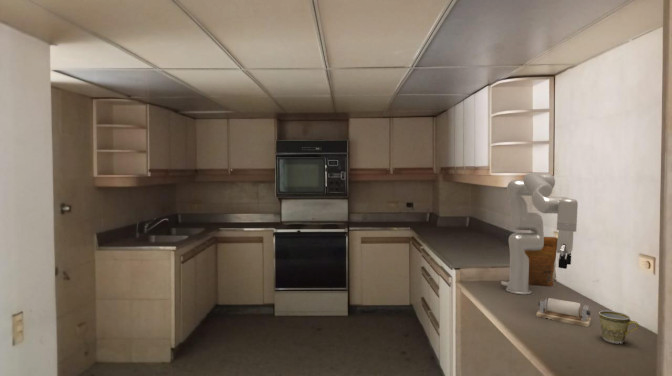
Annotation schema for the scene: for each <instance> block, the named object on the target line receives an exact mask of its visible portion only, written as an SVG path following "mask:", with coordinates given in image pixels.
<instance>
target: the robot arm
mask: <svg viewBox="0 0 672 376" xmlns="http://www.w3.org/2000/svg"><path fill="white" fill-rule="evenodd" d="M555 185H556V179H555V177H554V175H553V174H551V173H550V172H529V173H526V174H525V175H524V176H523V179H513V180H510V181H509V182H508V184H507V187H506V195H507V198H508V200H509V208H510V210H509V213H510V225H511V228H512V229H513V230H515V231H530V232H513V233H511V234H510V235H509V237H508V246H509V248H508V249H509V280H508V281H506V280H505V281H504V280H501V282H500V283H501V286H504V287H505V286H506V287H505V291H507V292H508V293H511V294H516V295H530V294H532V290H531V289H530V288H529V285H528V283H529V258H528V256H527V255H526V253H525V251H539V250H541V249H542V248H543V246H544V237H545V235H544V232H545V231H544V222H543V221H544V220H543V218H542V216H541V214H557V216H556V217H557V220H556V231H558V232H557V233H558V234H557V238H558V241H557V251H556V254H559V257H558V264H557V265H558V266H557V267H558V268H559V269H564V270H565V269H567V268H568V266H570V265H571V264H572V252H573V245H574V232H575V233H576V232H577V223H578V209H579V208H578V203H579V202H578V200H576V199H574V198H569V197H565V196H551V195H552V192H553V188H555ZM523 196H525V197H528V196H530V197H531V202H532V205H533V206H534V208H535V209H536V210H537V211H539V212H540V213H541V214H540V213H537V212H529V211H528V204H527V201H526V200H525V199H524V198H523Z"/></svg>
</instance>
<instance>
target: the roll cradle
mask: <svg viewBox="0 0 672 376" xmlns="http://www.w3.org/2000/svg"><path fill="white" fill-rule="evenodd" d="M547 302H548V299H547V297H542V298H541V299H540V301H538V306H539V309H538V311H537V312H536V313H535V314H536V315H535V317H536V316H537V317H536V318H540V317H543V318H542V319H545V318H548V319H547V320H550V319H552V321H555V320H556V321H555V322H561V323H565V324H571V325H574V326H575V325H576V326H579V327H580V326H581V327H584V328H585V327H586V328H589V326H590V324H591V322H592V318H591V317H589V316H591V310H589V305H588V304H584V305H583V307H582V311H581V312H582V313H581V314H580V316H579V317H575V316H569V315H564V314H559V313H554V312H549V311H547Z"/></svg>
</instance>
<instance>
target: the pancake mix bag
mask: <svg viewBox="0 0 672 376" xmlns="http://www.w3.org/2000/svg"><path fill="white" fill-rule="evenodd" d="M557 241H558V237H555V236H544V246H543V248H542V249H541V250H539V251H525V253H526V255H527V256H528V258H529V283H528V286H529V285H530V286H541V287H543V286H544V287H553V286H554V281H553V279H554V272H555V261H556V258H557Z"/></svg>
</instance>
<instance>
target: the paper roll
mask: <svg viewBox="0 0 672 376" xmlns="http://www.w3.org/2000/svg"><path fill="white" fill-rule="evenodd" d="M546 309H547V311H549V312H554V313H559V314H564V315H569V316H575V317H579V316H580V315H581V303H580V302H575V301H569V300H563V299H557V298H554V297H553V298H552V297H549V298H548V299H547V302H546Z"/></svg>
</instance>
